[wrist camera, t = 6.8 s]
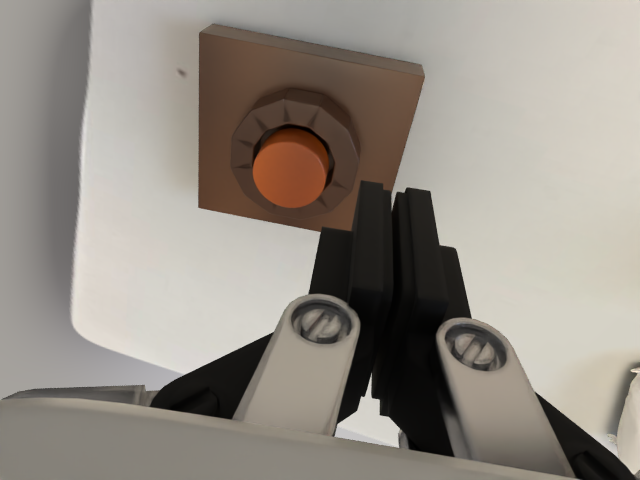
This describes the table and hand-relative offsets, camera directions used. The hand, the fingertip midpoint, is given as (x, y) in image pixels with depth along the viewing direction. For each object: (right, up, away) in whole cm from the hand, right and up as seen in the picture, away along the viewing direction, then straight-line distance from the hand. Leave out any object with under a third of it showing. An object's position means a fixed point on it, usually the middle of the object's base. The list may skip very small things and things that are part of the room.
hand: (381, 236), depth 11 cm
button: (-3, +4, +12) cm, 13 cm away
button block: (-2, +6, +15) cm, 16 cm away
